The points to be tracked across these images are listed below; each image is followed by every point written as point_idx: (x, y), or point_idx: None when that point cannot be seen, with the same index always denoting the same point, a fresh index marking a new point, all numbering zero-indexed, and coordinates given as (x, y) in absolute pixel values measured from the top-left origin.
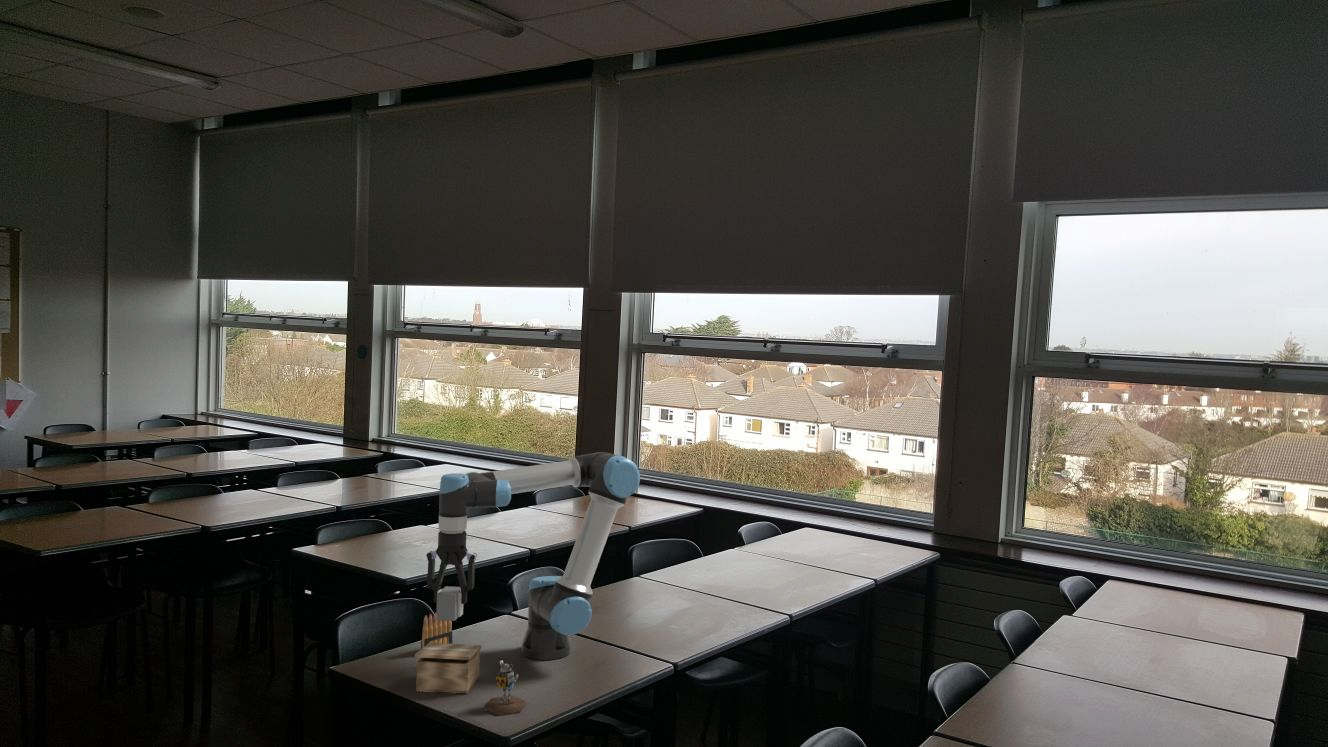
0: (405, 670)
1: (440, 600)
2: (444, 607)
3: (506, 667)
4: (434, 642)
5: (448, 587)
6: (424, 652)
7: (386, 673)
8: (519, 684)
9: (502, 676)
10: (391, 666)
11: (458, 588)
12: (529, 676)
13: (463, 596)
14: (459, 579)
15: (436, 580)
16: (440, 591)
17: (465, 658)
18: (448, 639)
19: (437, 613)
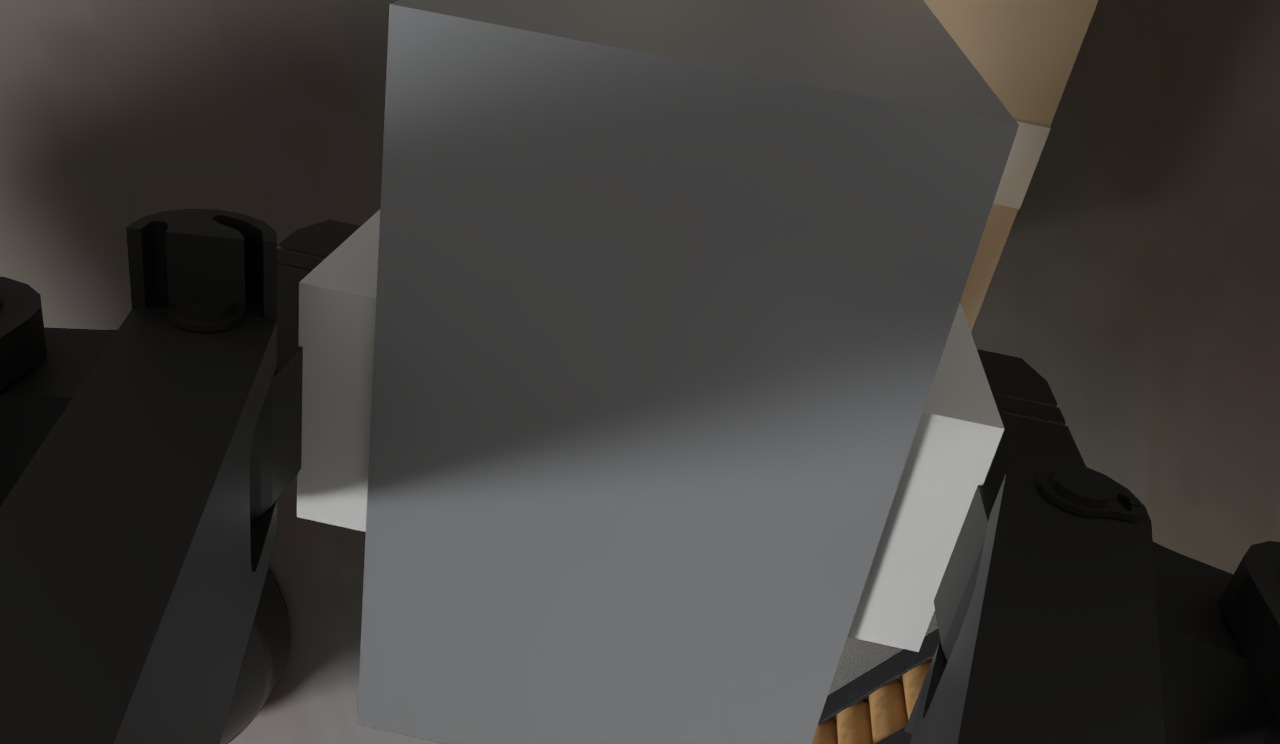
0: (1106, 366)
1: (878, 61)
2: (759, 7)
3: None
4: (893, 721)
5: (711, 739)
6: None
7: (1271, 317)
8: (156, 9)
9: None
10: (1219, 454)
11: (451, 648)
12: (123, 174)
13: (290, 290)
14: (136, 546)
15: (1136, 703)
16: (907, 430)
17: None
18: None
19: (915, 15)
